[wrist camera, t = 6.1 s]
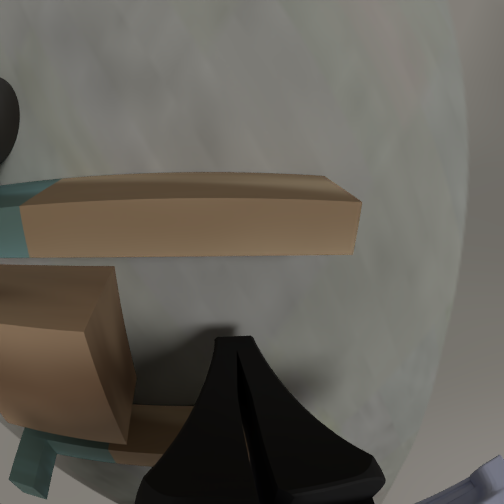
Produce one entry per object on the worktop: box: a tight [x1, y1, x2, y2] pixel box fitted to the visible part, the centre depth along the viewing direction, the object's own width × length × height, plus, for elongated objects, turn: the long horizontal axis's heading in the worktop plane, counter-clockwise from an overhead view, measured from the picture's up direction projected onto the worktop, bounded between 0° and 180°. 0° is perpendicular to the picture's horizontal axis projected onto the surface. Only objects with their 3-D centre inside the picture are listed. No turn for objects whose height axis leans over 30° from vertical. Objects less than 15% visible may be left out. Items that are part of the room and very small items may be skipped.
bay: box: [0, 78, 362, 499], centre depth 9 cm, size 17×14×6 cm
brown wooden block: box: [0, 265, 137, 445], centre depth 10 cm, size 6×6×4 cm
